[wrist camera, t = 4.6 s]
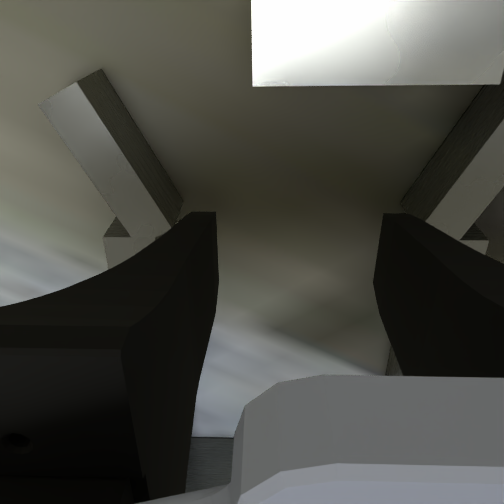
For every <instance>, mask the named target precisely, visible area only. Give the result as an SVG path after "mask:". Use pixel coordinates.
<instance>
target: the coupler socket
mask: <svg viewBox="0 0 504 504" xmlns="http://www.w3.org/2000/svg"><path fill="white" fill-rule="evenodd" d="M38 106H39V107H40V109H41V110H42V111H43V113H44V114H45V116H46V117H47V118H48V120H49V121H50V123H51V124H52V126H53V127H54V128H55V130H56V131H57V133H58V134H59V135H60V137H61V138H62V140H63V141H64V143H65V144H66V145H67V147H68V148H69V150H70V151H71V152H72V154H73V155H74V157H75V158H76V160H77V161H78V162H79V164H80V165H81V167H82V168H83V169H84V171H85V172H86V174H87V175H88V177H89V178H90V179H91V181H92V182H93V184H94V185H95V186H96V188H97V189H98V191H99V192H100V194H101V195H102V196H103V198H104V199H105V201H106V202H107V203H108V205H109V206H110V208H111V209H112V211H113V212H114V213H115V215H116V217H115V219H114V220H113V222H112V224H111V225H110V227H109V228H108V230H107V231H106V233H105V235H104V236H103V241H104V246H105V252H106V258H107V263H108V269H111V268H112V267H114V266H116V265H118V264H120V263H122V262H123V261H125V260H127V259H129V258H130V257H132V256H133V255H135V254H136V253H138V252H139V251H141V250H142V249H144V248H145V247H147V246H148V245H149V244H151V243H152V242H154V241H155V240H157V239H158V238H159V237H161V236H162V235H163V234H164V233H166V232H167V231H168V230H169V229H171V228H172V227H173V226H174V224H175V222H176V219H177V216H178V214H179V211H180V208H181V206H182V203H183V200H182V199H181V197H180V195H179V194H178V192H177V190H176V189H175V187H174V186H173V184H172V182H171V181H170V179H169V178H168V176H167V174H166V173H165V171H164V170H163V168H162V166H161V165H160V163H159V161H158V160H157V158H156V157H155V155H154V153H153V152H152V150H151V149H150V147H149V145H148V144H147V142H146V141H145V139H144V137H143V136H142V134H141V132H140V131H139V129H138V128H137V126H136V124H135V123H134V121H133V120H132V118H131V116H130V115H129V113H128V112H127V110H126V108H125V107H124V105H123V103H122V102H121V100H120V99H119V97H118V95H117V94H116V92H115V91H114V89H113V87H112V86H111V84H110V83H109V81H108V79H107V78H106V76H105V74H104V73H103V71H102V70H101V69H100V70H98V71H96V72H94V73H92V74H90V75H88V76H86V77H85V78H83V79H81V80H79V81H77V82H75V83H73V84H72V85H70V86H68V87H67V88H65V89H63V90H61V91H60V92H58V93H56V94H55V95H53V96H51V97H49V98H48V99H46V100H44V101H43V102H41V103H39V104H38ZM503 187H504V72H503V74H502V78H501V82H500V84H485V85H484V87H483V88H482V89H481V91H480V92H479V94H478V95H477V96H476V98H475V99H474V101H473V102H472V103H471V105H470V106H469V108H468V109H467V110H466V112H465V113H464V115H463V116H462V117H461V119H460V120H459V122H458V123H457V124H456V126H455V127H454V129H453V130H452V131H451V133H450V134H449V135H448V137H447V138H446V140H445V141H444V142H443V144H442V145H441V147H440V148H439V149H438V151H437V152H436V154H435V155H434V156H433V158H432V159H431V161H430V162H429V163H428V165H427V166H426V168H425V169H424V170H423V172H422V173H421V175H420V176H419V177H418V179H417V180H416V182H415V183H414V184H413V186H412V187H411V189H410V190H409V191H408V193H407V194H406V196H405V197H404V198H403V200H402V201H401V205H402V206H403V208H404V210H405V211H406V213H407V214H410V215H413V216H415V217H417V218H419V219H421V220H423V221H425V222H427V223H428V224H430V225H432V226H434V227H435V228H437V229H439V230H441V231H442V232H444V233H446V234H447V235H449V236H451V237H453V238H454V239H456V240H458V241H460V242H461V243H463V244H465V245H467V246H469V247H471V248H472V249H474V250H476V251H478V252H480V253H482V254H484V255H485V254H486V250H487V246H488V243H489V240H488V239H487V238H486V236H485V235H484V234H483V233H482V232H481V231H480V229H479V228H478V227H477V226H476V225H475V224H474V222H475V221H476V220H477V218H478V217H479V216H480V215H481V213H482V212H483V211H484V210H485V209H486V207H487V206H488V205H489V204H490V202H491V201H492V200H493V199H494V198H495V196H496V195H497V194H498V193H499V191H500V190H501V189H502V188H503ZM386 376H403V374H402V371H401V369H400V366H399V364H398V361H397V358H396V356H395V353H394V351H393V348H392V346H391V349H390V355H389V360H388V365H387V371H386ZM233 446H234V439H233V438H191V444H190V452H189V461H188V470H187V479H186V489H185V493H188V492H193V491H198V490H203V489H207V488H212V487H217V486H222V485H227V484H229V483H230V482H231V474H232V460H233Z"/></svg>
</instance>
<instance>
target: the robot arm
mask: <svg viewBox="0 0 504 504" xmlns="http://www.w3.org/2000/svg"><path fill="white" fill-rule="evenodd" d="M218 284H219V272H218V248H217V225H216V212H191V213H189V214H188V215H186V216H185V217H184V218H183V219H182V220H180V221H179V222H178V223H177V224H176V225H174V226H173V227H172V228H171V229H169V230H168V231H167V232H166V233H164V234H163V235H162V236H161V237H159V238H158V239H157V240H155V241H154V242H152V243H151V244H149V245H148V246H147V247H145V248H144V249H142V250H141V251H139V252H138V253H136V254H135V255H133V256H132V257H130V258H129V259H127V260H125V261H123V262H122V263H120V264H118V265H116V266H114V267H112V268H111V269H109V270H107V271H105V272H103V273H101V274H99V275H96V276H94V277H91V278H89V279H87V280H84V281H82V282H79V283H77V284H75V285H72V286H70V287H67V288H65V289H62V290H59V291H56V292H53V293H50V294H47V295H44V296H40V297H37V298H34V299H30V300H27V301H23V302H19V303H15V304H11V305H7V306H2V307H0V504H504V264H502V263H500V262H498V261H496V260H494V259H492V258H490V257H488V256H486V255H484V254H482V253H480V252H478V251H476V250H474V249H472V248H471V247H469V246H467V245H465V244H463V243H461V242H460V241H458V240H456V239H454V238H453V237H451V236H449V235H447V234H446V233H444V232H442V231H441V230H439V229H437V228H435V227H434V226H432V225H430V224H428V223H427V222H425V221H423V220H421V219H419V218H417V217H415V216H413V215H410V214H390V213H383V220H382V226H381V233H380V240H379V246H378V253H377V260H376V266H375V273H374V280H373V285H374V290H375V295H376V300H377V304H378V309H379V313H380V316H381V319H382V322H383V324H384V327H385V330H386V332H387V335H388V338H389V340H390V343H391V346H392V348H393V351H394V353H395V356H396V358H397V361H398V364H399V366H400V369H401V371H402V374H403V376H364V375H319V376H313V377H308V378H302V379H296V380H291V381H285V382H280V383H277V384H275V385H274V386H272V387H271V388H270V389H268V390H267V391H265V392H264V393H262V394H261V395H260V396H258V397H257V398H255V399H254V400H252V401H251V402H249V403H248V404H247V405H245V407H244V410H243V412H242V415H241V418H240V421H239V423H238V426H237V429H236V431H235V434H234V446H233V460H232V474H231V482H230V483H229V484H227V485H222V486H217V487H212V488H207V489H203V490H198V491H193V492H188V493H185V489H186V479H187V470H188V461H189V452H190V444H191V435H192V427H193V419H194V411H195V403H196V395H197V390H198V385H199V380H200V375H201V371H202V367H203V363H204V359H205V355H206V351H207V347H208V342H209V338H210V334H211V330H212V326H213V322H214V317H215V313H216V305H217V295H218Z"/></svg>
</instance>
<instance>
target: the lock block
mask: <svg viewBox="0 0 504 504" xmlns="http://www.w3.org/2000/svg"><path fill="white" fill-rule="evenodd" d="M503 69H504V0H252V77H253V86H361V85H484V84H500V82H501V78H502V74H503Z"/></svg>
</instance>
